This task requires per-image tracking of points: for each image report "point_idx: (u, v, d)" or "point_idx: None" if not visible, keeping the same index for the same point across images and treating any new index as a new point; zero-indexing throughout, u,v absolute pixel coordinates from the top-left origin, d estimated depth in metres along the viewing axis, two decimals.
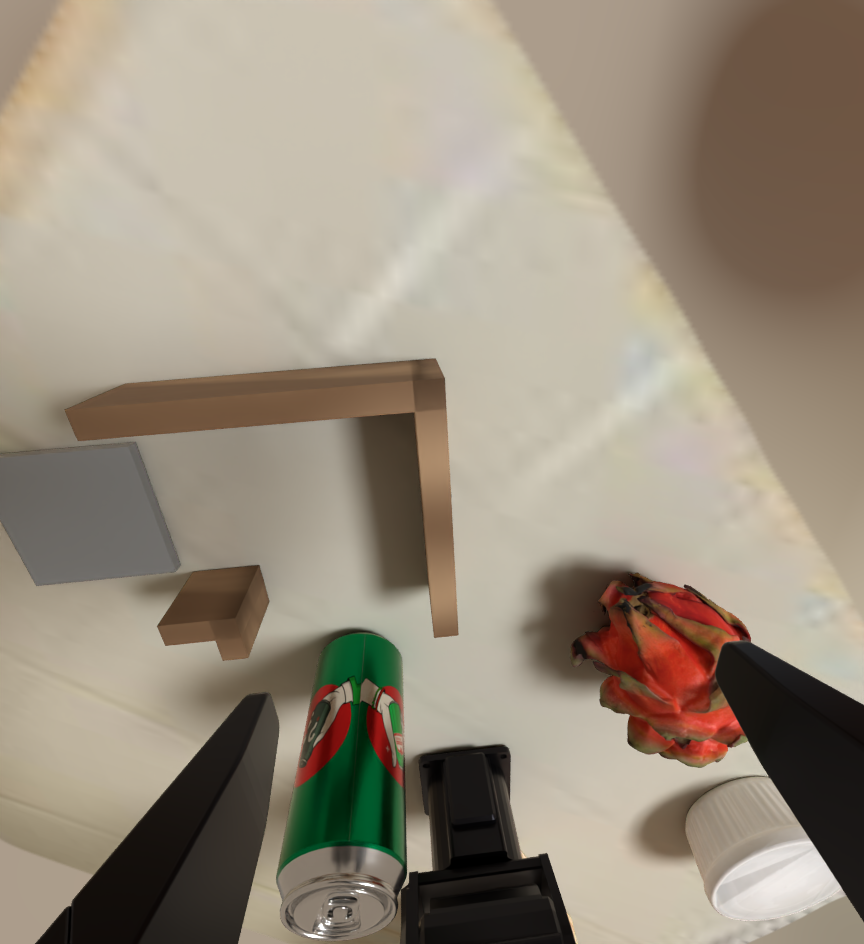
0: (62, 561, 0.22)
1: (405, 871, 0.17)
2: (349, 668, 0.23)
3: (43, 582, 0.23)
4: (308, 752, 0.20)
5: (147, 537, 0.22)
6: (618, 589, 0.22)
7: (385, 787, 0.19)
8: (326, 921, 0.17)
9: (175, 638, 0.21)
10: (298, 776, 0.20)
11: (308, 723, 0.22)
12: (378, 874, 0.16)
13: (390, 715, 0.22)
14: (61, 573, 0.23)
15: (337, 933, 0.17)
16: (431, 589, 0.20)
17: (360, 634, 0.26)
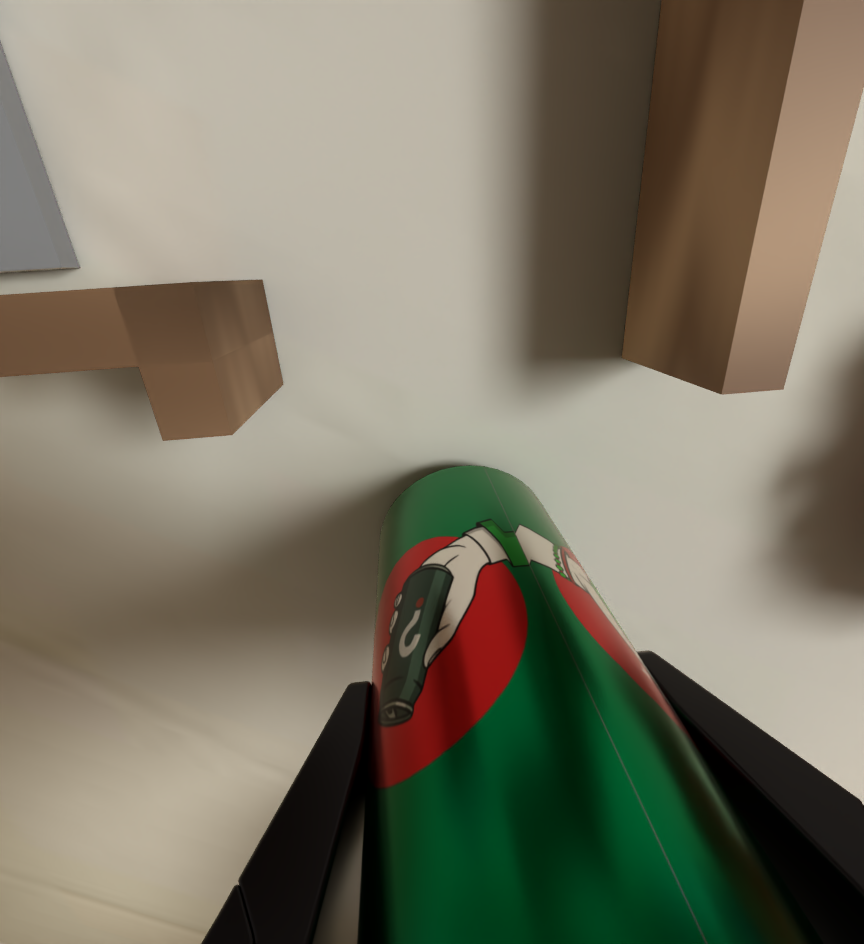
0: None
1: None
2: (472, 508, 0.10)
3: None
4: (410, 679, 0.07)
5: None
6: None
7: (716, 788, 0.05)
8: None
9: (20, 349, 0.07)
10: (386, 752, 0.06)
11: (389, 621, 0.08)
12: None
13: (602, 601, 0.08)
14: None
15: None
16: (764, 210, 0.07)
17: (474, 466, 0.12)
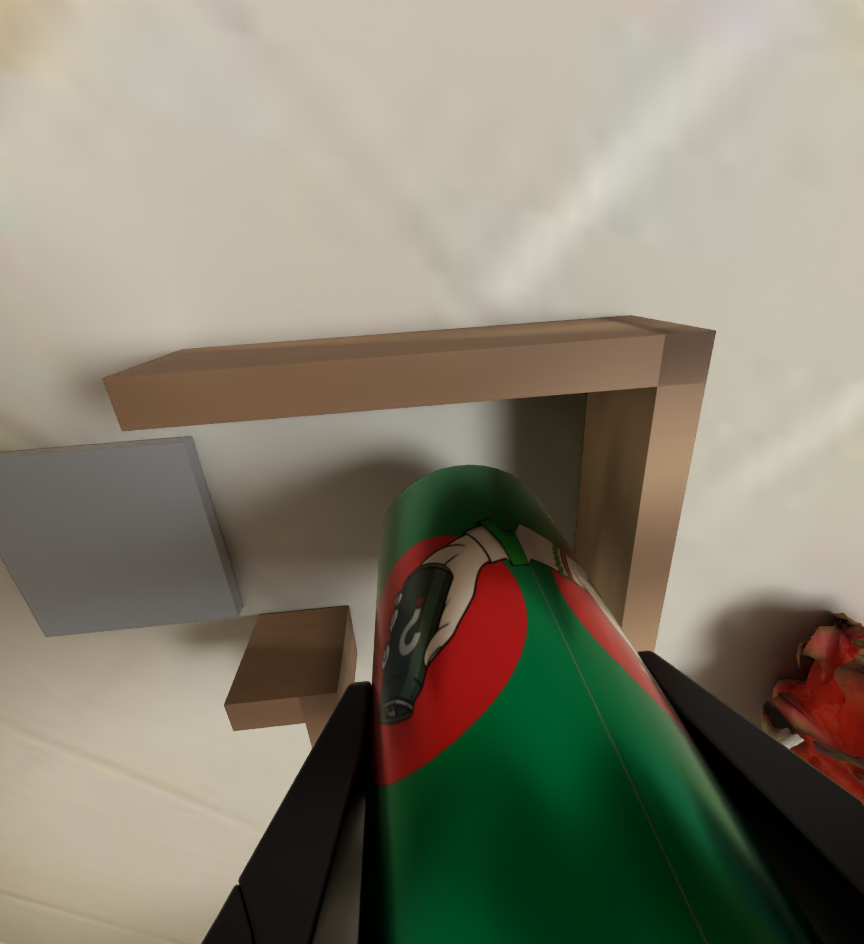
0: (82, 603, 0.16)
1: None
2: (471, 507, 0.10)
3: (55, 631, 0.16)
4: (410, 678, 0.07)
5: (202, 571, 0.16)
6: (858, 643, 0.16)
7: (715, 785, 0.05)
8: None
9: (249, 720, 0.14)
10: (387, 750, 0.06)
11: (389, 620, 0.08)
12: None
13: (601, 600, 0.08)
14: (80, 620, 0.16)
15: None
16: None
17: (474, 465, 0.12)
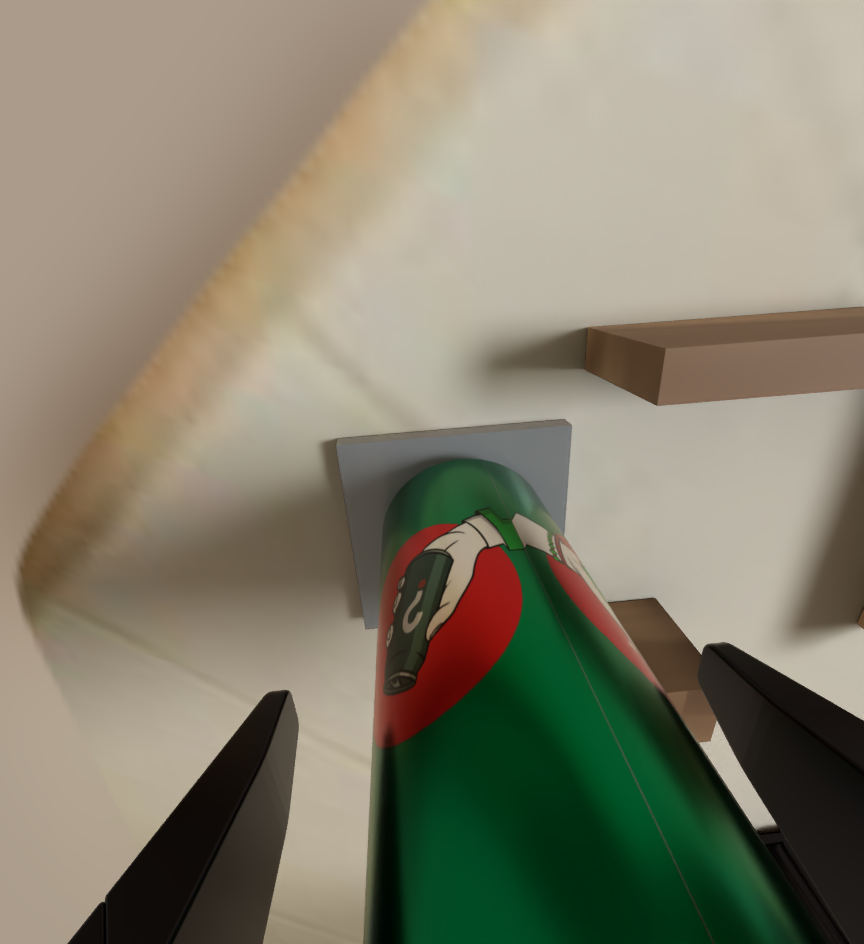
0: None
1: None
2: (470, 498, 0.11)
3: (377, 624, 0.16)
4: (414, 652, 0.07)
5: None
6: None
7: (692, 743, 0.06)
8: None
9: None
10: (392, 717, 0.07)
11: (392, 602, 0.09)
12: None
13: (593, 584, 0.09)
14: None
15: None
16: None
17: (473, 459, 0.13)
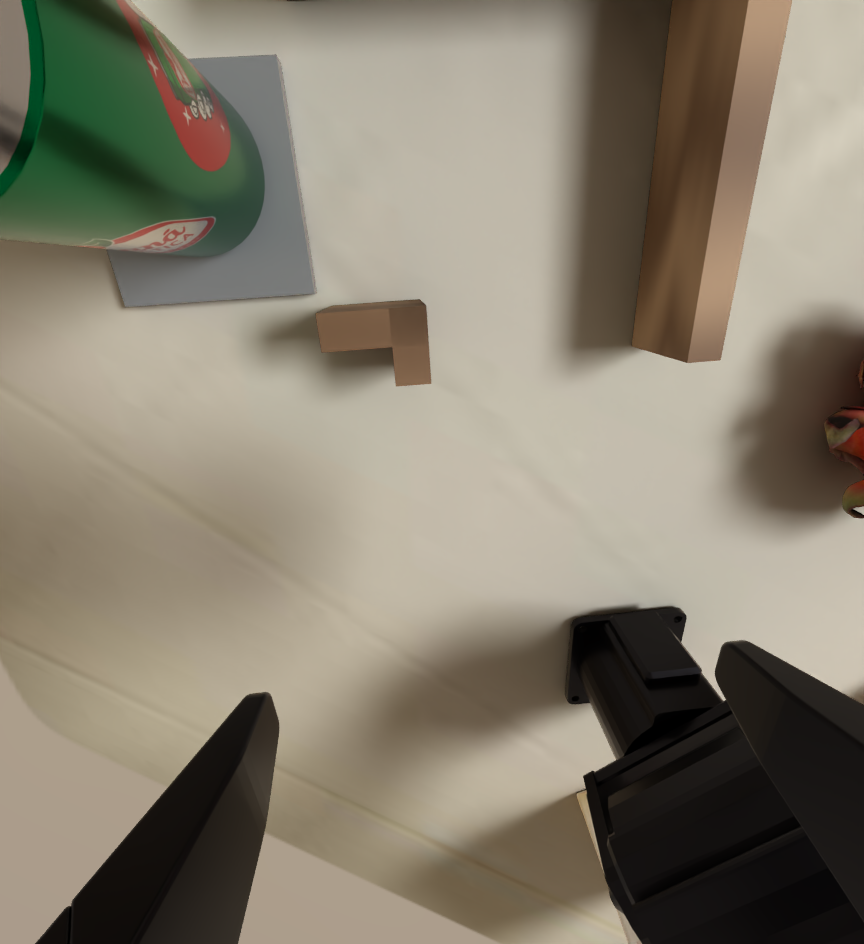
0: (164, 264, 0.16)
1: None
2: None
3: (135, 300, 0.16)
4: None
5: (283, 228, 0.16)
6: None
7: None
8: None
9: (338, 338, 0.14)
10: None
11: None
12: None
13: (165, 37, 0.10)
14: (160, 286, 0.16)
15: None
16: (705, 269, 0.14)
17: None
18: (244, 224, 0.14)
